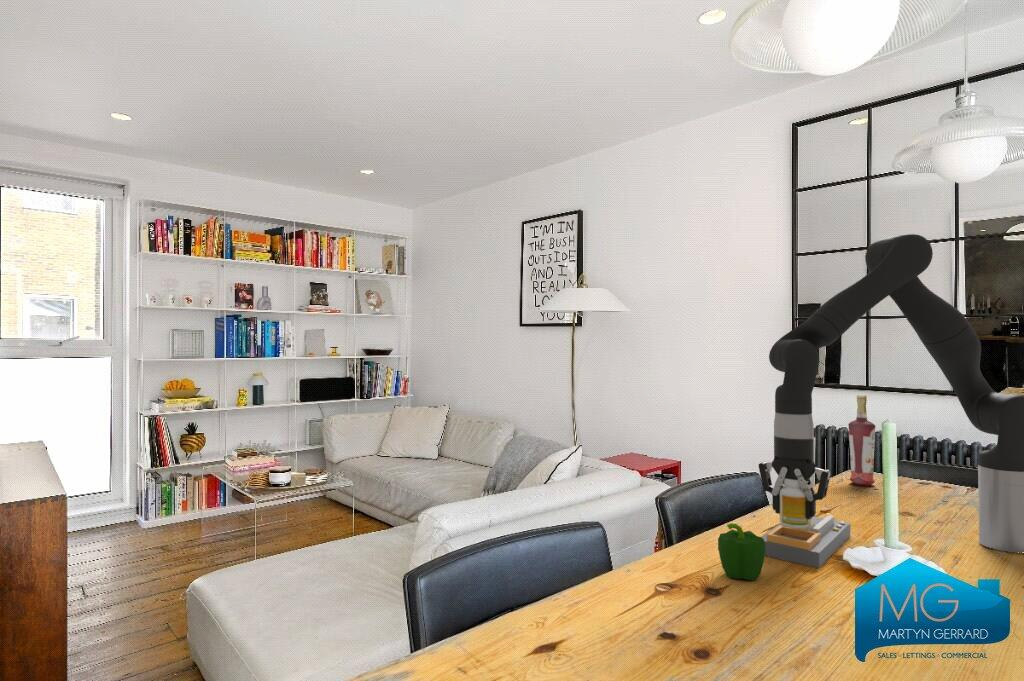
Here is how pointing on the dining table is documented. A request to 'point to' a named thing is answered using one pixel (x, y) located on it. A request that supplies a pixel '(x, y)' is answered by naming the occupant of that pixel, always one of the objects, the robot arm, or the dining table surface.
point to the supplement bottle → (793, 505)
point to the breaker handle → (809, 525)
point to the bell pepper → (741, 553)
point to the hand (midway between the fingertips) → (793, 515)
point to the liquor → (862, 446)
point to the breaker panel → (807, 541)
